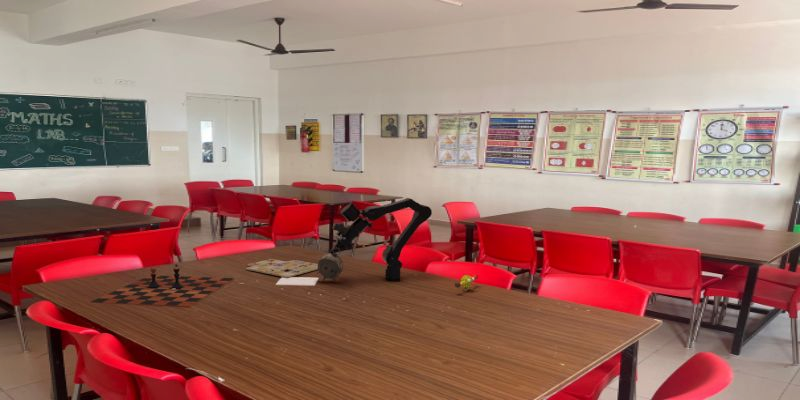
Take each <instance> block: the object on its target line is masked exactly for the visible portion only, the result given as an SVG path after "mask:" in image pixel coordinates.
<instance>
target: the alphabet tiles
mask: <svg viewBox="0 0 800 400" xmlns="http://www.w3.org/2000/svg"><path fill="white" fill-rule="evenodd" d="M245 270H246V271H251V272H255V273H256V272H257V273H262V274H267V275H271V276H276V277H280V278H281V277H286V278H288V277H296V276H298V275H303V274H306V273H309V272H313V271H318V263H313V262H307V261H302V260H299V259H298V260H297V259H293V260H288V261H285V260H279V259H275V258H274V259H273V258H270V259H266V260H261V261H257V262H252V263H247V267H246V269H245Z"/></svg>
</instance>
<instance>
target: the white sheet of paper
mask: <svg viewBox="0 0 800 400" xmlns="http://www.w3.org/2000/svg"><path fill="white" fill-rule="evenodd" d="M319 278H320V277H308V276H307V277H306V276H304V277H299V276H298V277H297V276H292V277H288V278H286V277H281V276H280V278H279V280H278V281H277V282H276V284H275V286H301V287H302V286H306V287H308V286H309V287H310V286H311V287H315V286H316V285H317V283H318V280H319Z"/></svg>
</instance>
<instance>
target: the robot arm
mask: <svg viewBox="0 0 800 400" xmlns="http://www.w3.org/2000/svg"><path fill="white" fill-rule="evenodd" d="M408 208H409V209H411V210H412V211H413V214H412V217H411V220H410V221H409V223H408V224H407V225H406V227H405V228H404V230H403V231H402V232H401V233H400V235H399V236H398V238H396V240H395V242H393V243H392V244H391V245H390V244H387V245H386V246H385V248H384V249H383V250H382V254H381V257H382V260H383V261H384V262H385V263H386V268H385V279H386V282H401V278H402V277H401V269H402V268H403V265H404V264H403V263H402V261H401V260H400V257H401V254H402V250H403V248H404V247H405V246H406V244H407V243H408V242H409V240H410V239H411V238H412V236H413V235H414V233H415V232H416V231H417V229H418V228H419V227H420V225H421V224H424V223H425V222H427V221H428V219H430V217H431V216H432V214H433V213H432V208H431V207H430V206H427V205H424V204H420V203H419V202H417V201H415V200H414V199H413V198H409V197H407V198H404V199H401V200H398V201H397V200H396V201H395V202H390V203H387V204H384V205H370V206H367V207H365V208H364V209H358V208H357V206H356V205H355V204H354V203H353V202H350V203H349V204H347V205H346V206H344V207H343V208H342V209H341V211H340V214H341V215H342V216H343V217H344V218H345V219H346V220H347V221H348V223H349V222H350V223H351V222H352V223H351V224H349V225H346V226H345V224H344V223H342V222H337V221H335V222H334V223H333V226H332V227H331V228H332V230H334V231H337V232H336V233H335V234H336V235H337V236H336V238H335V239H336V241H335V243H334V245H333V247H332V248H331V249H330V251H329V253H331V254H334V253H336V254H337V253H339V252H341V251H343V250H347V249H348V251H351V250H352V249H353V247H354V245H353V241H354V240H355V239H356V238H359V237H360V234H361V233H362V232H363V231H364V230H366V229H367V228H369V229H370V230H373V222H374V221H377V220H378V219H381V218H382V217H384V216H385V215H388V214H391V213H394V212H398V211H401V210H404V209H408ZM361 216H362V217H363V218H362V217H361ZM368 220H369V221H368ZM336 247H337V248H336ZM334 248H335V249H334ZM338 248H339V249H340V251H339V249H338ZM333 249H334V250H333ZM333 251H334V253H333Z"/></svg>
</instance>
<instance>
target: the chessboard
mask: <svg viewBox="0 0 800 400" xmlns="http://www.w3.org/2000/svg"><path fill="white" fill-rule="evenodd" d="M174 266H175V267H174V268H173V272H174V274H173V275H157V273H156V271H157V267H150V268H149V271H150V272H151V273H150V275H148V276H146V277H144V278H143V277H142V279H138V280H136V281H135V282H134V281H133V282H132V283H130V284H126V285H125V286H122V287H121V288H119V289H116V290H114V291H112V292H110V293H107V294H105V295H103V296H100V297H98V298H96V299H93V300H91V301H90V303H98V304H112V305H113V304H114V305H115V304H116V305H118V304H119V305H120V304H121V305H132V306H133V305H134V306H135V305H136V306H150V307H151V306H155V307H156V306H157V307H171V308H191V307H193V306H194V305H196V304H198V303H199V302H201V301H203V300H204V299H205V298H208V297H209V296H211V295H212V294H214V293H215V292H217V291H218V290H220V289H221V288H223V287H225V286H226V285H228V284H229V283H231V282H233V281H234V280H235V278H234V277H215V276H213V277H207V276H184V275H183V276H182V275H181V274H180V273H179V271H180V268H179V266H178V264H177V263H176V264H174Z"/></svg>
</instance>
